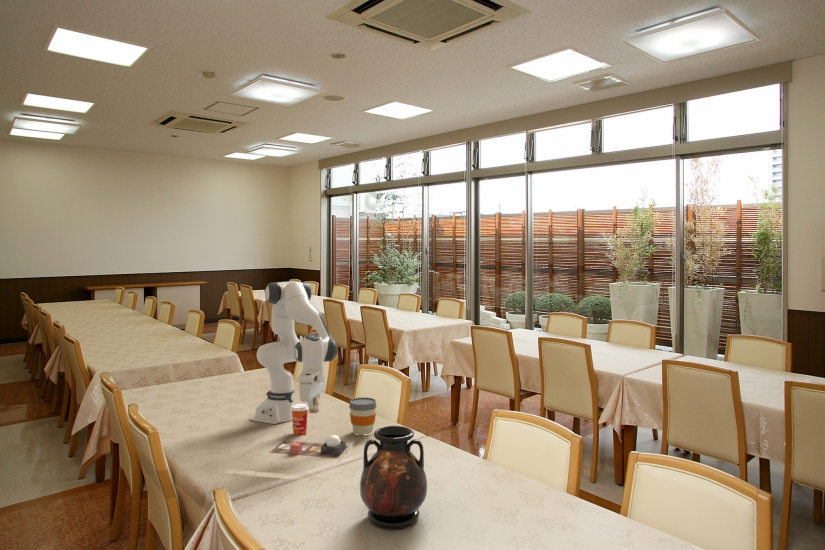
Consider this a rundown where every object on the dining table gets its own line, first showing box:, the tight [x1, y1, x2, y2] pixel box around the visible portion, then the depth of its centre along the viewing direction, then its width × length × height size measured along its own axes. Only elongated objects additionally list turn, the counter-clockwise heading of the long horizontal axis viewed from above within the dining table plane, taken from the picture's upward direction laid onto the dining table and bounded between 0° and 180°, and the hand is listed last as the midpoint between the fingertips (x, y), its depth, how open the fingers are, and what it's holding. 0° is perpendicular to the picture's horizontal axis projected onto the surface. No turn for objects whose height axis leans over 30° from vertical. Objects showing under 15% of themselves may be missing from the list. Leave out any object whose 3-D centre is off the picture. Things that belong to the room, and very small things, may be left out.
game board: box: [268, 440, 349, 463], centre depth 225 cm, size 30×14×4 cm, turn 79°
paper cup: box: [291, 403, 309, 436], centre depth 245 cm, size 8×8×14 cm
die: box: [289, 441, 302, 456], centre depth 221 cm, size 4×4×4 cm
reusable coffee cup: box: [348, 396, 377, 435], centre depth 249 cm, size 13×13×15 cm
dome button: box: [325, 434, 342, 448], centre depth 223 cm, size 6×6×6 cm
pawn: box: [308, 394, 320, 414], centre depth 223 cm, size 4×4×9 cm
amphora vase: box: [359, 425, 428, 530], centre depth 170 cm, size 22×22×28 cm
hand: (313, 406), depth 224 cm, fingers closed on pawn, 4 cm apart
